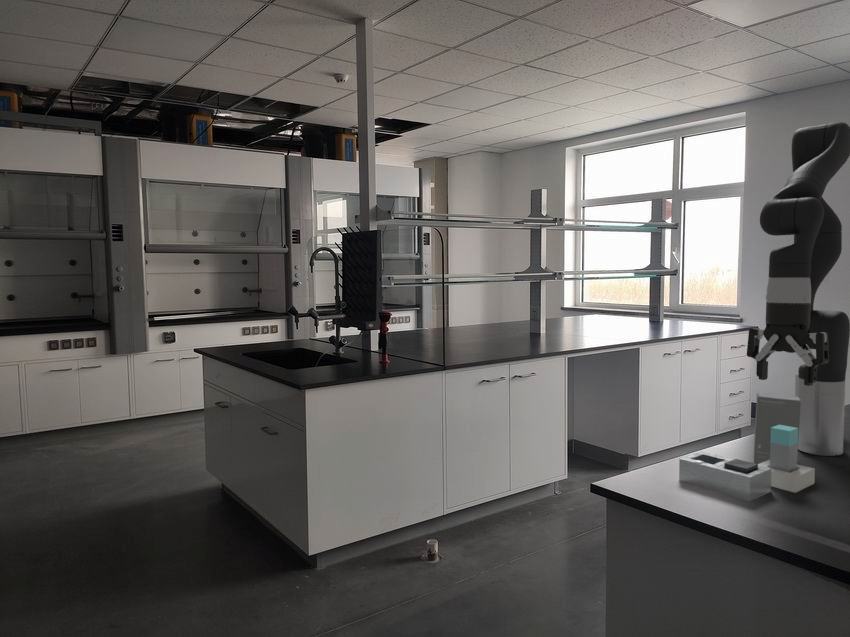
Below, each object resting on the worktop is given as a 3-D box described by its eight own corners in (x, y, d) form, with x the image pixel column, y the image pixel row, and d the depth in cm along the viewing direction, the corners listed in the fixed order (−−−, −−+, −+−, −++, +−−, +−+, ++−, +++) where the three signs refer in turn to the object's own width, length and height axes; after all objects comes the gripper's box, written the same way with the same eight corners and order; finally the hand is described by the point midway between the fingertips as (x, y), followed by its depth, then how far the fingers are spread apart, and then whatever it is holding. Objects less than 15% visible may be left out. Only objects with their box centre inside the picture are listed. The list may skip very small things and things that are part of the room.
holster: (771, 477, 124) (772, 458, 123) (814, 488, 117) (814, 468, 117) (752, 485, 119) (752, 466, 119) (795, 497, 113) (795, 477, 112)
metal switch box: (701, 476, 125) (701, 447, 124) (770, 496, 113) (771, 464, 113) (679, 485, 120) (679, 454, 120) (749, 506, 109) (750, 473, 108)
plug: (778, 477, 121) (779, 424, 120) (796, 482, 118) (798, 428, 117) (769, 481, 119) (770, 427, 118) (788, 486, 116) (789, 431, 115)
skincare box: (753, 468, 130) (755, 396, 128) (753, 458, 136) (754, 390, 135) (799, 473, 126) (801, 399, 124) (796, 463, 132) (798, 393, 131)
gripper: (837, 301, 113) (833, 385, 114) (760, 299, 125) (758, 376, 126) (819, 302, 109) (815, 389, 110) (741, 300, 121) (739, 379, 122)
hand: (785, 382), depth 118 cm, fingers open, 8 cm apart
